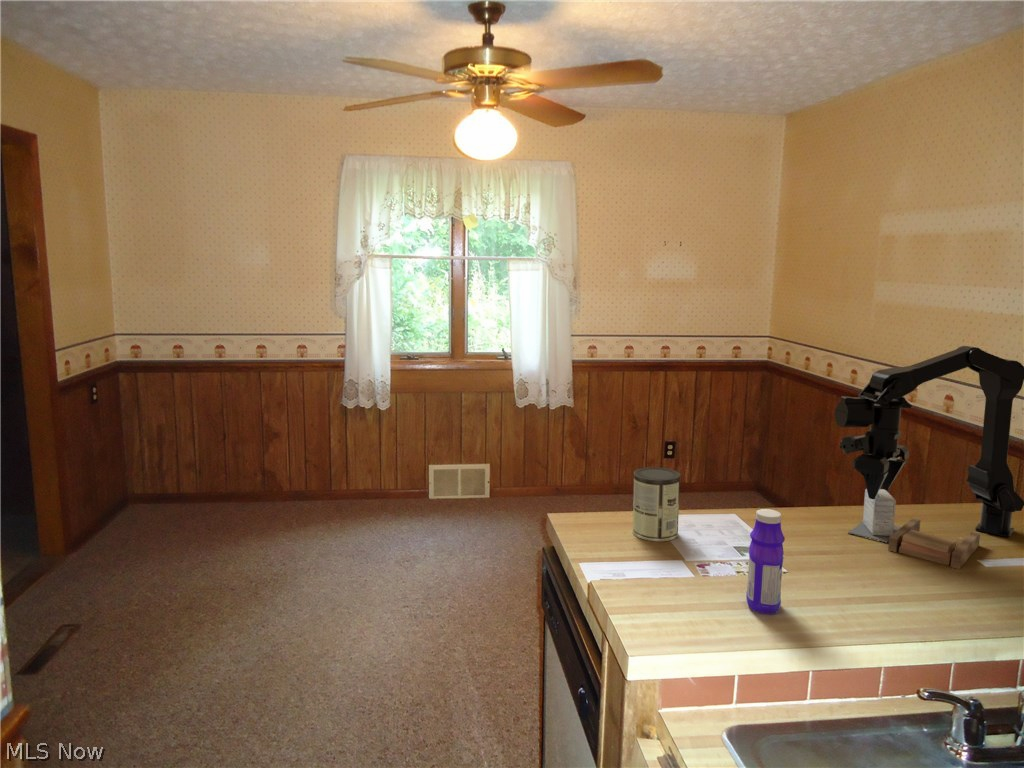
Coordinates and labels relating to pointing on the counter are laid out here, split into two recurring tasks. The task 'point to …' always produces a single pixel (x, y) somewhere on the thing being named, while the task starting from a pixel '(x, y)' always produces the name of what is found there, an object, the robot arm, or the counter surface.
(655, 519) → the coffee can
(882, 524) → the medicine box
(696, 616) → the counter surface
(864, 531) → the mat
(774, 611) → the bottle
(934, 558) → the offcut stack
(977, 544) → the rack
